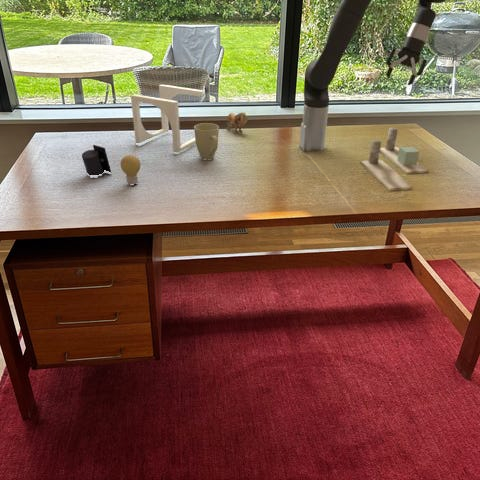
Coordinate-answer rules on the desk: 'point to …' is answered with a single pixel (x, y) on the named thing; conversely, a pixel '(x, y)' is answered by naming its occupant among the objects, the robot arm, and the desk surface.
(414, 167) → the block strip
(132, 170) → the light bulb
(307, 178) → the desk surface
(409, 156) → the sage block
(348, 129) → the desk surface
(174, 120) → the cream frame stand
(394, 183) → the empty strip
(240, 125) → the lion figurine
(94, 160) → the speaker
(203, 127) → the mug
